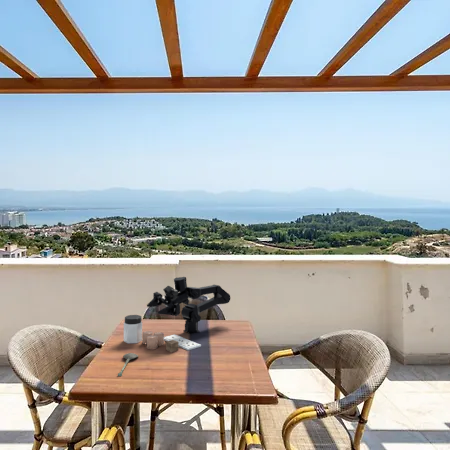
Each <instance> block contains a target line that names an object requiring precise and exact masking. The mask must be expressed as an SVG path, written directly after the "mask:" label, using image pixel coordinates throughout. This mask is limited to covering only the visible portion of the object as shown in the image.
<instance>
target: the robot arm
mask: <svg viewBox="0 0 450 450" xmlns="http://www.w3.org/2000/svg"><path fill="white" fill-rule="evenodd" d="M173 283H174V287H172V286H170V285H167V286H166V287H164V288H163V291H164V296H163V294H162V293H160V292H158V291H155V292H153V295H152V296H153V298H152V300H150V301H149V302H148V303H147V304H146V308H152V307H154V308H155V307H158V306H161V305H162V304H163V305H164V306H165V307H164V308H162V309H160V310H158V311H157V314H159V315H168V316H175V317H177V316H179V315H180V313H181V316H182V319H183V320H185V323H184V330H183V332H184V333H186V334H189V335H192V334H193V335H194V334H196V333H200V330H199V329H198V327H199V322H200V321H201V319H202V318H201V316H200V314H201V313H203V312H205V311H207V310H209V309H211V308H213V307H215V306H218V305H226V304H229V303H230V301H231V295H230V294H229V293H228V292H227V291H226V290H225V289H223V288H222V286H220V285H218V284H212V285H207V286H206V285H205V286H202V287H196V286H195V287H193V286H188V284H187V277H186V276H180V277H175V278H173ZM209 294H212V295H213V296H212V297H211V298H209V299H207V300H204V301H202V302H200V303H197V304H196V303H191V302H190V300H197V299H199V298H201V296H204V295H209ZM163 297H164V298H163ZM181 304H183V305H184V306H183V307H182V309H181Z"/></svg>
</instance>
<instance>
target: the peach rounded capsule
mask: <svg viewBox="0 0 450 450" xmlns="http://www.w3.org/2000/svg"><path fill="white" fill-rule="evenodd" d="M153 335H155V336H158V347H159V346H163V345H164V344H165V340H164V337H165V333H164V332H160V331H158V332H153Z"/></svg>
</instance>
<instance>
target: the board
mask: <svg viewBox="0 0 450 450" xmlns="http://www.w3.org/2000/svg"><path fill="white" fill-rule="evenodd" d="M170 340H175V341H178V348H182V349H184V350H186V351H191V350H194V349H199V348H202V344H200V343H197V342H195V341H193V340H189V339H187V338H185V337H182V336H180V335H177V334H176V333H175V334H170V335H167V336H164V342H167V341H170Z"/></svg>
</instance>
